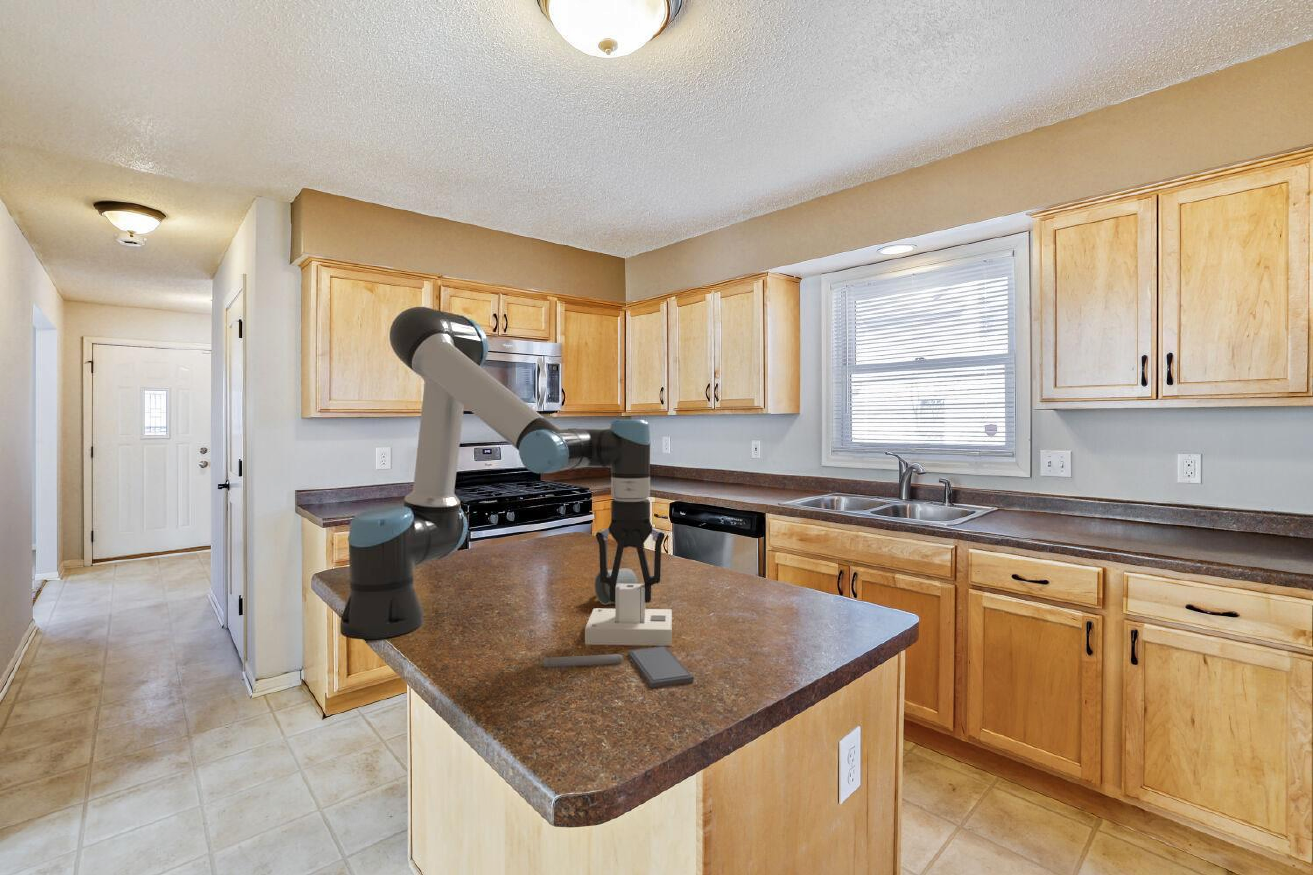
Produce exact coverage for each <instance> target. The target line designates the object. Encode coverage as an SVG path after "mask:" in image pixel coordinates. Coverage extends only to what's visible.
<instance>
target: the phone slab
mask: <svg viewBox="0 0 1313 875" xmlns="http://www.w3.org/2000/svg"><path fill="white" fill-rule="evenodd" d="M627 656H628V657H629V659H631V661H632V663H633V664H634V665H635V667H636V668H637V670H638V671H639V672H640V674H641V675H642V677H643V678H644V680H645V681H646V682H647V684H648V685H649V687H650V688H651V689H654V688H662V687H666V686H667V687H668V686H675V685H682V684H689V683H694V680H695V678H694V676H693V674H691V672H690V671H689V670H688V669H687V667H685V666H684V665H683V663H681V662H680V660H679V659H678V658H677V657H676V656H675V654H673V653H672V652H671V651H670V650H669V648H668V646H654V647H645V648H636V649H628V650H627Z"/></svg>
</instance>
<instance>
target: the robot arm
mask: <svg viewBox="0 0 1313 875" xmlns="http://www.w3.org/2000/svg"><path fill="white" fill-rule="evenodd" d="M389 342H390V346H391V349H392V351H393V352H394V354H395V356H396V357H398V359H399V360H400V361H401V362H402V363H403V364H404V365H405V366H407V368H409V369H411V371H413V372H414V373H415V374H417V375H418V376H420V378H422V379H423V382H424V386H423V396H422V402H421V403H422V404H421V413H420V420H419V422H420V423H419V432H418V441H417V449H416V460H415V468H414V469H415V470H414V477H413V478H414V479H413V486H412V487H413V488H412V491H410V493H408V494H407V495H406V496H405V497H404V501H403V505H391V506H384V507H380V508H379V507H377V508H371V509H367V510H365V511H362V512H359V513H358V514H355V516H354V517H352V519H351V520H350V523H349V530H348V531H349V534H348V536H347V540H348V557H349V558H348V560H349V562H348V564H349V594H348V596H347V600H346V602H345V603H346V604H345V606H344V609H343V612H342V615H341V617H340V622H339V623H340V634H341V635H342V636H343V637H344V638H349V639H353V640H376V639H377V640H378V639H386V638H392V637H396V636H400V635H404V634H407V633H410V632H413V631H415V630H417V629H418V628H420V627H421V626H422V625H423V622H424V611H423V607H422V604H421V602H420V599H419V597H418V596H419V595H418V594H417V592H416V588H415V585H414V567H415V566H417V565H421V564H425V563H427V562H431V561H434V560H440V559H443V558H445V557H447V556H448V555H450V554H452V553H454V552H456V551H457V550H458V549H459V548H461V546H462V545H463V544H464V542H465V540H466V537H467V533H468V528H469V527H468V520H467V516H465V515H464V514H465V512H464V511H463V509H462V508H461V499H459V497H458V496H457V495H456V493H455V486H456V481H457V480H456V479H457V471H458V461H459V452H460V443H461V437H462V436H461V435H462V426H463V417H464V408H467V409H468V410H469V411H470V412H471V413H472V414H474V416H476V417H477V418H479V420H481V422H483V423H484V424H486V425H487V426H488V427H490V428H491V429H492V430H493V431H494V432H495V433H496V434H498V435H499V436H501V437H502V438H503V439H504V440H505V441H506V442H508V443H509V444H510V445H511V446H512V447H514V448H515V449H516V450H517V451H518V455H519V458H520V460H521V463H522V465H523V466H524V467H525V468H526V469H527V470H528V471H530V472H532V473H535V474H546V475H547V474H554V473H558V472H561V471H565V470H574V469H575V470H576V469H580V468H610V473H611V474H610V475H611V476H610V480H611V481H610V484H611V485H610V492H611V493H610V496H611V497H612V501H611V502H610V505H611V506H610V508H611V509H610V516H611V517H610V524H609V525H608V528H606V529H600V530H598V531H597V532H596V534H595V538H596V540H597V543H598V544H599V546H598V548H599V550H598V551H599V552H598V555H599V572H600V581H601V582H602V583H606V584H608V585H609V586H610V601H611V602H615V603H614V605H615V607H614V609H615V621H619V588H620V585H621V583H617V578H618V573H619V569H621V563H622V558H623V555H624V550H625V548H629V547H630V548H636V552H637V556H638V560H639V561H638V562H639V565H640V569H641V573H642V578H643V583H640V584H641V621H645V609H646V603H650V602H651V600H652V586H653V585H655V584H656V585H657V584H660V582H661V568H662V567H661V566H662V544H663V541H664V539H665V535H666V532H665V531H664V530H658V529H656V528H654V527H653V525H652V523H651V501H650V499H648V498H650V497H651V467H650V466H651V444H652V442H651V435H650V434H651V433H650V432H651V431H650V424H649V422H648V420H646V419H637V418H635V419H630V418H629V419H621V418H619V419H617V418H616V419H612V421H611V422H610V427H609V428H606V429H599V428H598V429H595V428H594V429H593V428H576V427H575V428H563V429H562V428H561V429H559V428H558V427H556V426H555V425H554V424H553V423H551V421H549V420H547V419H546V417H544V416H543V415H542V414H540V413H539V412H537V411H536V410H535V409H534V408H533V407H531V406H530V405H529V404H528V403H527V402H525V401H524V400H523V399H522V398H520V397H519V396H517V395H516V394H515V393H513V391H512V390H510V389H509V388H508V387H506V386H505V385H504V384H503V383H501V382H500V381H499V380H497V379H496V378H495V377H494V376H492V374H489V373H488V372H487V371H486V370H485V369H483V368H482V364H484V363H485V362H486V360H487V357H488V354H489V341H488V337H487V334H486V333H485V331H484V330H483V328H482V327H481V325H480V324H479V323H477V322H476V321H474V320H473V319H471V318H468V317H465V316H464V315H460V314H455V313H451V312H447V311H443V310H442V311H441V310H438V309H434V308H430V307H426V306H416V307H415V306H413V307H410V308H407V309H405V310H403V311H401V312H400V313H399V314H398V315H397V316H396V317H395V318H394V320H393V321H392V324H391V326H390V329H389ZM610 535H611V537H612V538H613V539H614V540H615V542H616V544H617V547H616V552H615V554H614V559H613V560H614V562H613V566H612V569H611V570H612V574H611V576H608V570H609V569H608V543H607V541H608V540H609V536H610ZM650 535H652V540H653V541H654V542H655V543H654V544H655V545H654V561H653V563H654V564H653V565H654V566H653V571H654V573H653V575H652V576H651V573H650V567H649V563H648V558H647V554H646V549H645V542H646V540H648V538H649V537H650Z"/></svg>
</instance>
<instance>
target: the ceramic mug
mask: <svg viewBox="0 0 1313 875" xmlns="http://www.w3.org/2000/svg"><path fill="white" fill-rule="evenodd" d="M611 574H612V569H608V576H611ZM617 583H621V584H640V580H639V576H638V574H637V573H636V572H635V571H634V570H633V569H631V568H625V567H623V568H620V569H619V573H618V578H617ZM594 592H595V596H596V598H597V600H598V601H599V602H600V603H601V604H602V605H604V606H610V605H615V602H611V601H610V586H609V585H608V584H606V583H602V582H601V581H600V571H599V572H598V573H597V575H596V576H595V580H594Z"/></svg>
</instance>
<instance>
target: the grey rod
mask: <svg viewBox="0 0 1313 875" xmlns="http://www.w3.org/2000/svg"><path fill="white" fill-rule="evenodd" d="M623 660H624V659H623V656H622V654H620V653H617V654H616V653H612V654H596V655H595V654H594V655H593V654H592V655H578V656H577V655H575V656H574V655H573V656H557V657H556V656H555V657H545V658H544V659H543V660H542V666H543V667H544V668H547V669H548V668H565V667H582V666H599V665H601V666H603V665H618V664H621V663H623Z"/></svg>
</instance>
